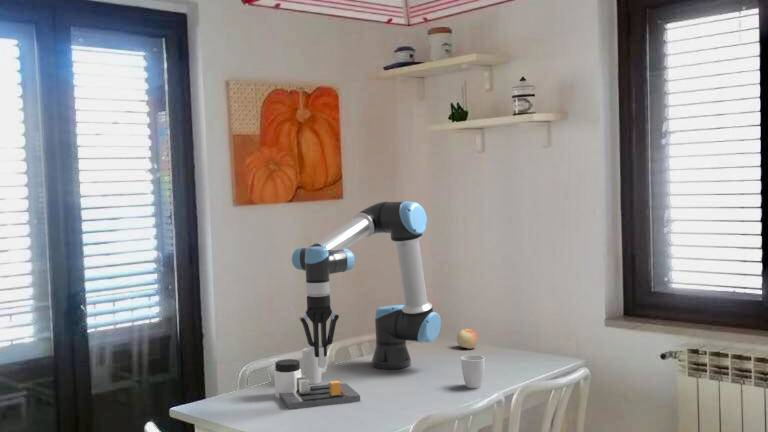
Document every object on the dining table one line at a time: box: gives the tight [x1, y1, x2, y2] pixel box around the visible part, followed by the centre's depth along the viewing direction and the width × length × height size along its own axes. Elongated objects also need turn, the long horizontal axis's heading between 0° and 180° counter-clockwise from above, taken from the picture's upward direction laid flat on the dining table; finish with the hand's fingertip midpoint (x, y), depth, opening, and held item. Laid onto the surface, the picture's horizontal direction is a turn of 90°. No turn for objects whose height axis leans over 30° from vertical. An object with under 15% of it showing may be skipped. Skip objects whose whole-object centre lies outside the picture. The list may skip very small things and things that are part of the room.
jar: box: [273, 358, 302, 399], centre depth 275 cm, size 9×8×12 cm
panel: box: [278, 374, 361, 411], centre depth 271 cm, size 24×17×7 cm
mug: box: [301, 346, 329, 385], centre depth 293 cm, size 10×7×12 cm, turn 127°
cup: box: [460, 354, 486, 389], centre depth 282 cm, size 8×8×10 cm
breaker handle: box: [328, 380, 341, 396], centre depth 266 cm, size 3×3×4 cm
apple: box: [456, 328, 479, 350], centre depth 344 cm, size 9×9×8 cm
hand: (321, 366), depth 265 cm, fingers closed
